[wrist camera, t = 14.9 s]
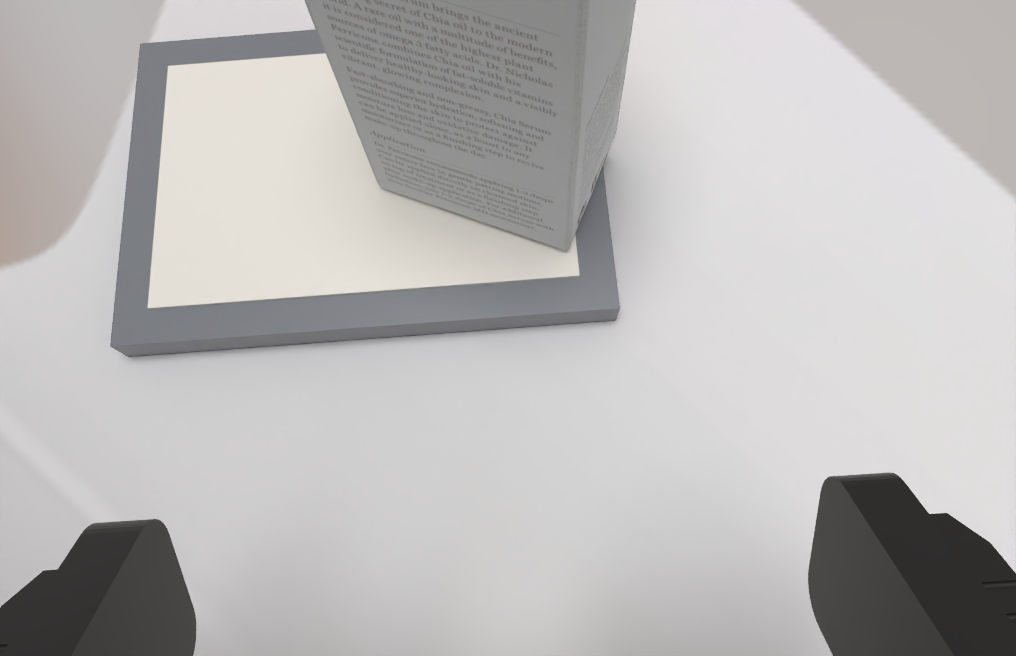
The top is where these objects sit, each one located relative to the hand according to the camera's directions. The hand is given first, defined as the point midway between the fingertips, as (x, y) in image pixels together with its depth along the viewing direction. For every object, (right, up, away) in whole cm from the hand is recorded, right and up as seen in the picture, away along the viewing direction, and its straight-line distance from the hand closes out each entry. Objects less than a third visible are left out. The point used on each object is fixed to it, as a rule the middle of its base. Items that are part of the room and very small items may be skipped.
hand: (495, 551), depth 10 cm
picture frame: (-4, +7, +14) cm, 16 cm away
